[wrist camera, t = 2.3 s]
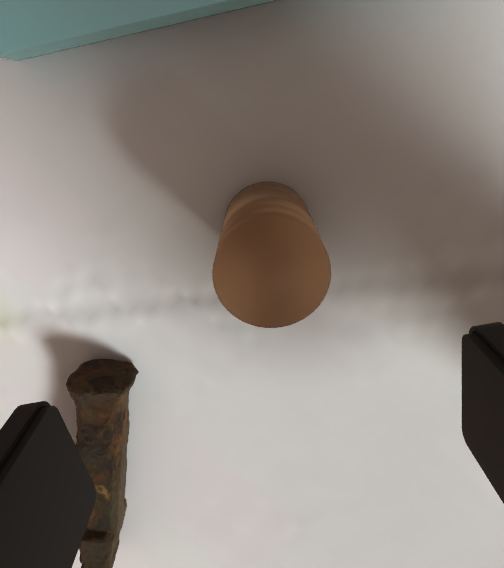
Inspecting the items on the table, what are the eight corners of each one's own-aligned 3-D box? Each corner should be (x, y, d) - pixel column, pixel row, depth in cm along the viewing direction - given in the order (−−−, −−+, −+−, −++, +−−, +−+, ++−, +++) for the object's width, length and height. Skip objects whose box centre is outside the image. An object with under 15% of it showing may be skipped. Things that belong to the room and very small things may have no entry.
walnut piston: (302, 173, 24) (322, 207, 17) (314, 255, 26) (337, 317, 19) (216, 191, 25) (199, 230, 18) (234, 270, 27) (226, 336, 19)
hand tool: (83, 349, 30) (53, 392, 25) (142, 358, 30) (122, 402, 25) (80, 536, 37) (57, 593, 33) (127, 542, 37) (110, 599, 33)
